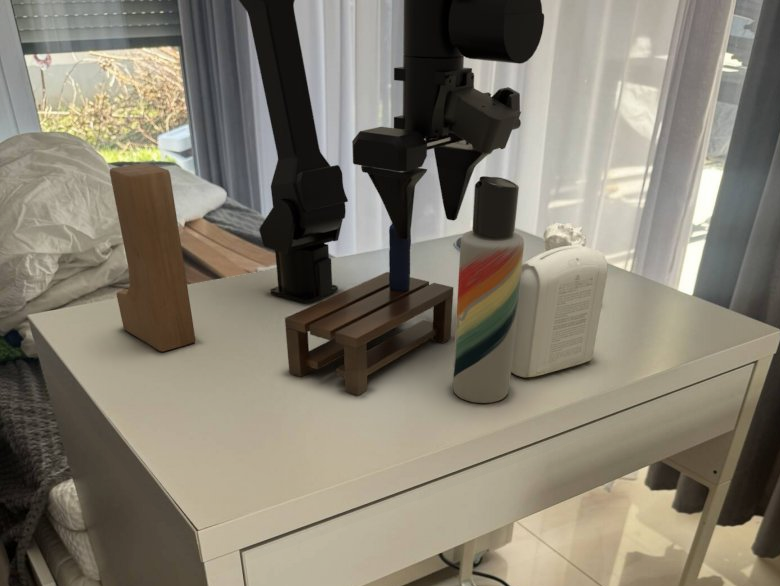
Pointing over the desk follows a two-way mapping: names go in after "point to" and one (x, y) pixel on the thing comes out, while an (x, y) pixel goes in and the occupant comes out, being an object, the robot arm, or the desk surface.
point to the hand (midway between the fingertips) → (428, 228)
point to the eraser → (399, 261)
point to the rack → (367, 327)
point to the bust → (563, 236)
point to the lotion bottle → (488, 294)
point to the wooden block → (152, 258)
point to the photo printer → (558, 310)
